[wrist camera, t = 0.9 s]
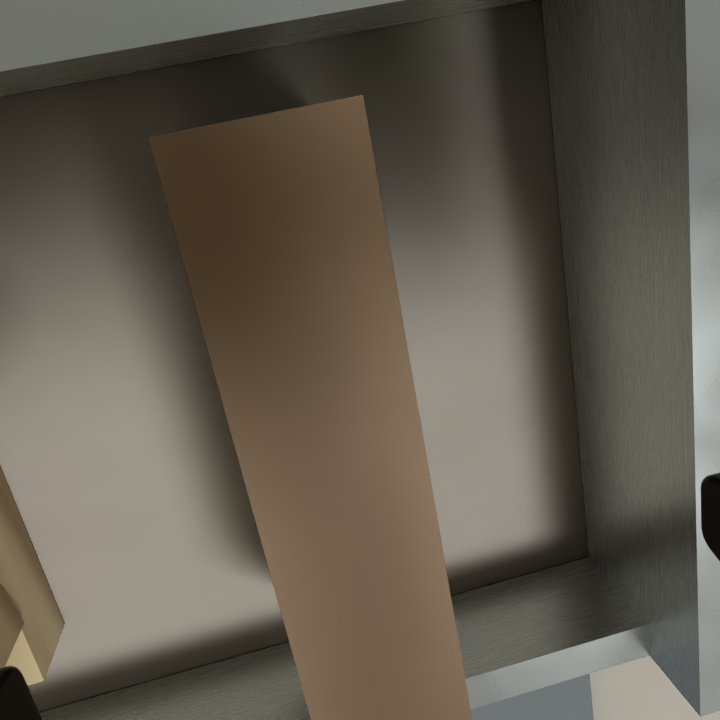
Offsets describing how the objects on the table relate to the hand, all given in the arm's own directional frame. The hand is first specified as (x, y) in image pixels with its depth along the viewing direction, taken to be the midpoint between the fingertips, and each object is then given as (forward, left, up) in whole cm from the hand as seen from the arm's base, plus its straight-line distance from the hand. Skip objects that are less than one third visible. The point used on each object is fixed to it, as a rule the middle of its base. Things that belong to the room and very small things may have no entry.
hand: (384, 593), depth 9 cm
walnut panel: (0, 0, -9) cm, 9 cm away
